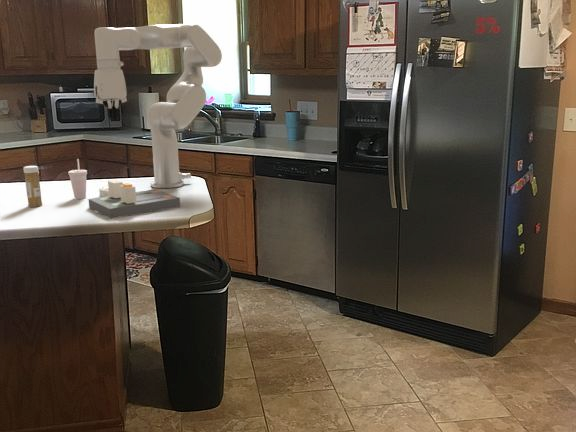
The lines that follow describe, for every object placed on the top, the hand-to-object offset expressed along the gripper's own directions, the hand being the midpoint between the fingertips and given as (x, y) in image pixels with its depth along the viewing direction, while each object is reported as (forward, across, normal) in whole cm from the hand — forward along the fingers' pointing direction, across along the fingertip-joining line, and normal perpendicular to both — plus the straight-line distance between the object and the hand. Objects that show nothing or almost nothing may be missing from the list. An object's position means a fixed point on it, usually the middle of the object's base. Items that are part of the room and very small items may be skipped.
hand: (113, 119), depth 215 cm
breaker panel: (+27, +3, +20) cm, 34 cm away
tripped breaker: (+24, +7, +25) cm, 35 cm away
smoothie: (+27, +12, -6) cm, 30 cm away
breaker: (+24, +7, +15) cm, 29 cm away
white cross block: (+28, 0, -2) cm, 28 cm away
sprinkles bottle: (+27, +28, -4) cm, 39 cm away
